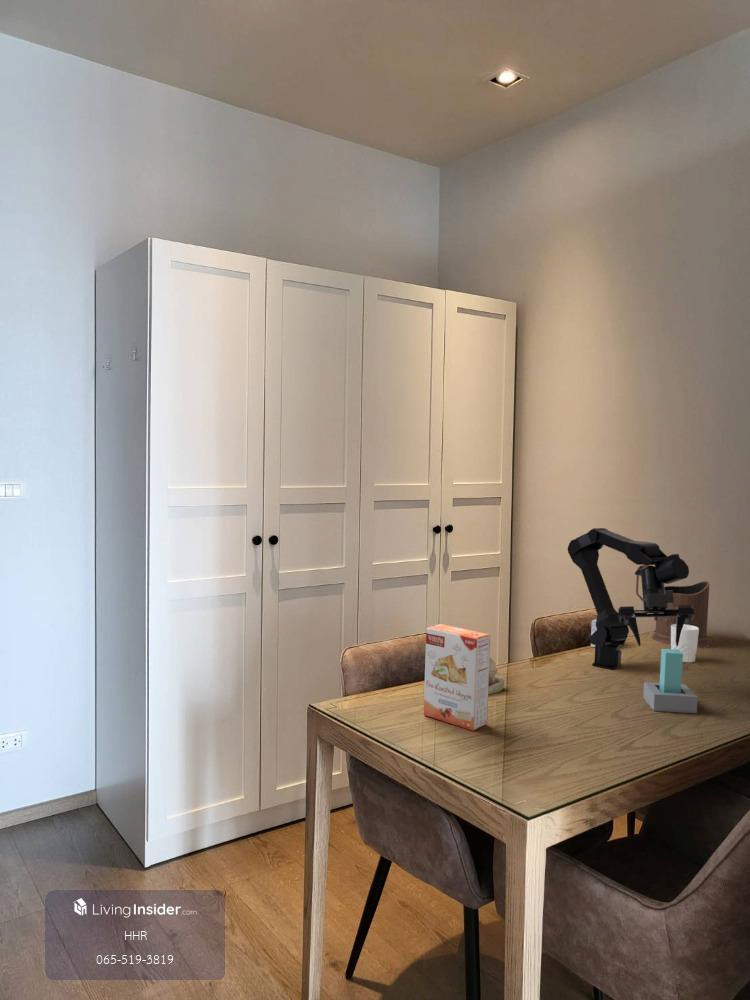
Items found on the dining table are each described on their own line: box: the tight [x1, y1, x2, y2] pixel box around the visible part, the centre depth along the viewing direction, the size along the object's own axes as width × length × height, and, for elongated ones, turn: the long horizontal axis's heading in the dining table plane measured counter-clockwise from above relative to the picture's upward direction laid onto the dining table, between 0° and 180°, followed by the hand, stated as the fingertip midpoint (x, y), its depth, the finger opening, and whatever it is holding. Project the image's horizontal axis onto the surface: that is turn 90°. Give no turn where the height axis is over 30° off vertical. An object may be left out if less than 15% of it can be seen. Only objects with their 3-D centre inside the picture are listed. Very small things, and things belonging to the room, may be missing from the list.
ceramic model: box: [488, 657, 505, 695], centre depth 198 cm, size 14×11×10 cm
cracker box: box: [423, 623, 491, 732], centre depth 174 cm, size 14×6×21 cm, turn 49°
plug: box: [659, 648, 684, 693], centre depth 189 cm, size 4×4×13 cm
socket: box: [642, 681, 698, 714], centre depth 189 cm, size 10×10×4 cm
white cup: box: [670, 624, 699, 663], centre depth 232 cm, size 8×8×10 cm
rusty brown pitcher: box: [635, 564, 711, 649], centre depth 255 cm, size 18×24×25 cm
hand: (658, 645), depth 200 cm, fingers open, 9 cm apart
